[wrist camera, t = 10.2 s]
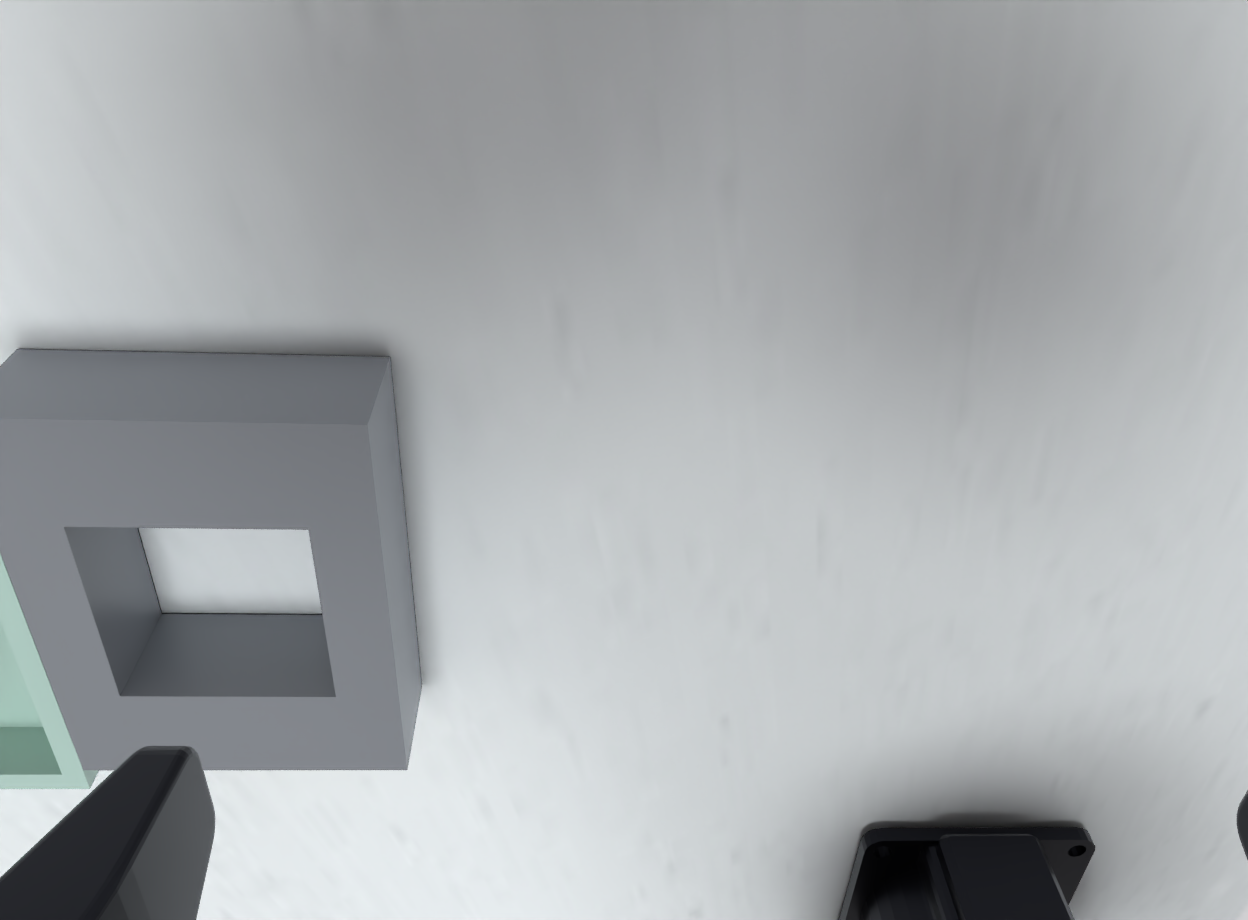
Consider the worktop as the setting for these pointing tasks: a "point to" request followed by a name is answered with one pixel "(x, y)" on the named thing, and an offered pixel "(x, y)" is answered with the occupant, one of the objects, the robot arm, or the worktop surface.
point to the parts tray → (30, 710)
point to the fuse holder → (220, 499)
